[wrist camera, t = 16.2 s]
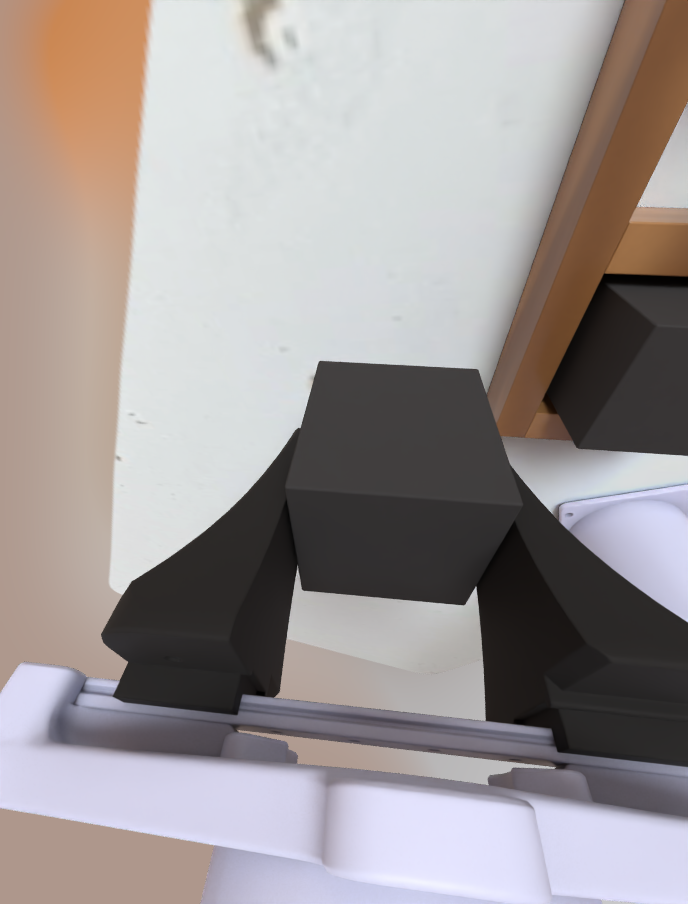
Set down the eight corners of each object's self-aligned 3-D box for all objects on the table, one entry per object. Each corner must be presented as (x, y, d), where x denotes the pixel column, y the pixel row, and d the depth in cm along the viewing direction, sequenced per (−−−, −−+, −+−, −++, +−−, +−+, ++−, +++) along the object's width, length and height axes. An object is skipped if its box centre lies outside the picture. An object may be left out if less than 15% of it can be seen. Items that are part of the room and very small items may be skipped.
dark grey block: (718, 270, 14) (842, 333, 10) (641, 380, 18) (712, 458, 14) (584, 265, 15) (656, 325, 11) (536, 375, 18) (576, 449, 14)
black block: (478, 368, 11) (524, 505, 8) (445, 476, 15) (465, 606, 11) (318, 359, 12) (283, 487, 8) (323, 467, 15) (301, 591, 12)
